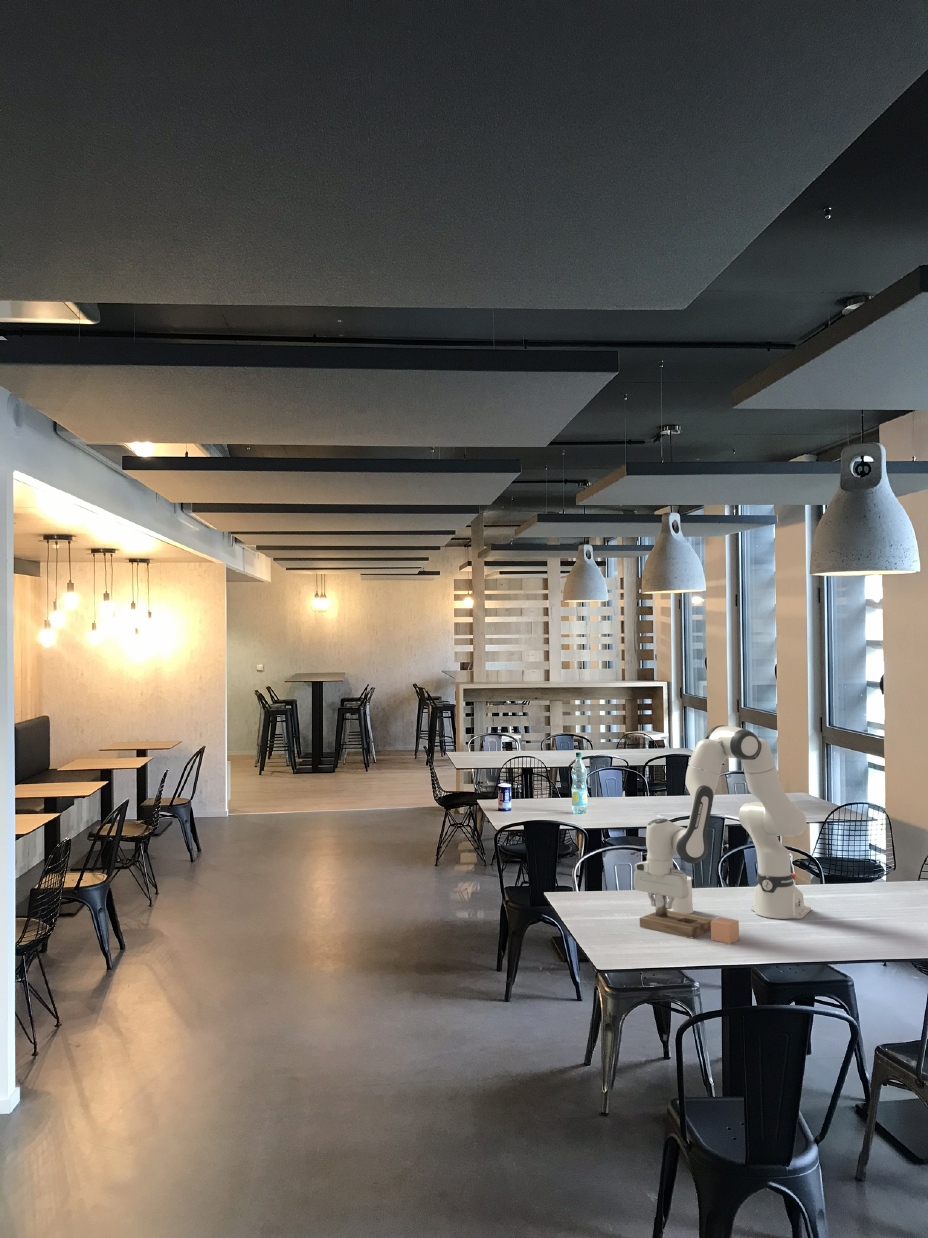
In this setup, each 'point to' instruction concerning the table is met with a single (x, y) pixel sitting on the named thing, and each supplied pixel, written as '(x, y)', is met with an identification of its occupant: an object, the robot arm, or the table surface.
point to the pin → (661, 905)
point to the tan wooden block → (725, 930)
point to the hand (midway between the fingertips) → (661, 907)
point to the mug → (684, 901)
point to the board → (677, 923)
